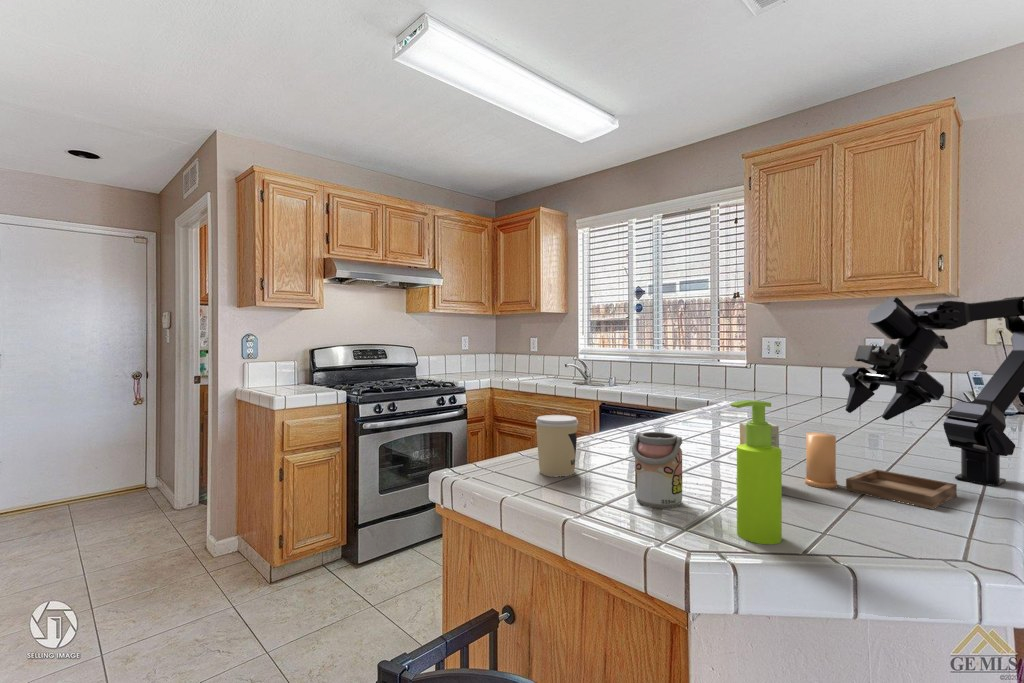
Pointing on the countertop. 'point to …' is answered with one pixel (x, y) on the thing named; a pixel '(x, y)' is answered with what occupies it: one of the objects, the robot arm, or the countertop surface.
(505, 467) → the countertop surface
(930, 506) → the walnut tray
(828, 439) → the peach dome-topped cylinder
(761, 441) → the soap dispenser
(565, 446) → the coffee cup
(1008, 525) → the countertop surface
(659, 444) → the printed pail with handle
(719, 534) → the countertop surface
